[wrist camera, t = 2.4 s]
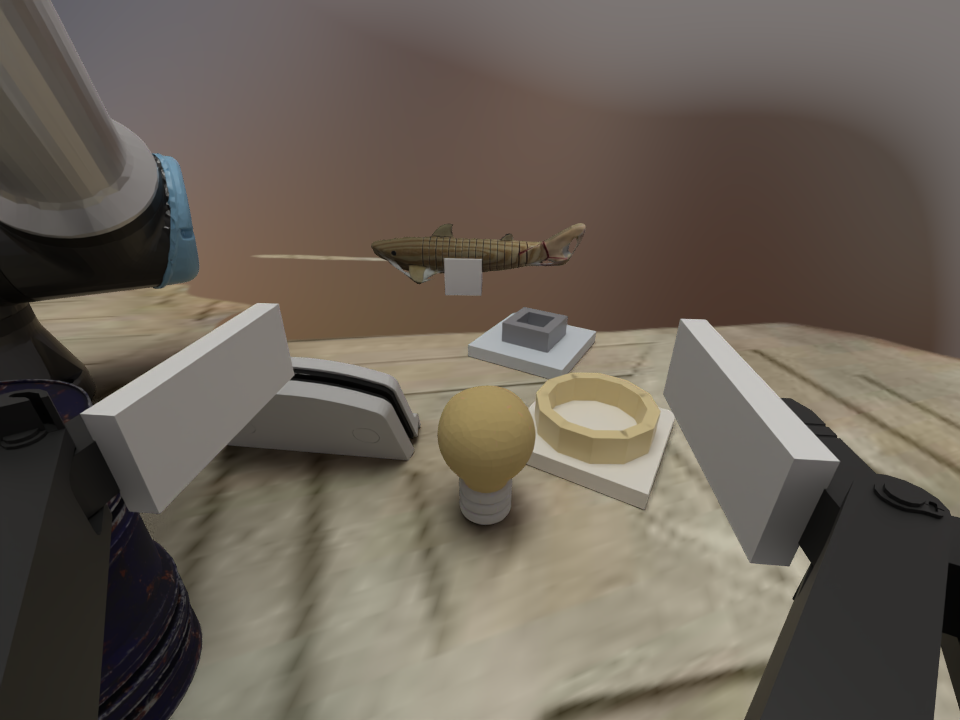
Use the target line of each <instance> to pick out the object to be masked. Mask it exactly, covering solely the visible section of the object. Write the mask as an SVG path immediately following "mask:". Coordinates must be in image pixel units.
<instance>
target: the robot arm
mask: <svg viewBox="0 0 960 720" xmlns="http://www.w3.org/2000/svg"><path fill="white" fill-rule="evenodd" d="M198 272H199V259H198V253H197V247H196V242H195V236H194V233H193V226H192V221H191V214H190V209H189V204H188V199H187V194H186V190H185V185H184V181H183V176H182V172H181V169H180V165H179V164H178V162H177V161H176V160H175V159H174V158H172V157H170V156H162V155H161V154H158V153H157V154H152V153H151V152H150V150H149V148H148V147H147V145H146V144H145V143H144V142H143V141H142V140H141V139H140V138H139V137H138V136H137V135H136V134H135V133H134V132H132V131H131V130H129V129H128V128H126V127H125V126H123V125H122V124H120V123H118V122H117V121H115V120H113V119H111V118H110V116H109V114H108V112H107V110H106V109H105V107H104V104H103V102H102V100H101V98H100V96H99V95H98V93H97V91H96V89H95V87H94V85H93V83H92V81H91V79H90V77H89V75H88V73H87V71H86V69H85V67H84V65H83V63H82V61H81V59H80V57H79V55H78V53H77V51H76V49H75V47H74V45H73V43H72V41H71V39H70V37H69V36H68V33H67V32H66V30H65V28H64V26H63V24H62V22H61V20H60V18H59V16H58V14H57V12H56V10H55V8H54V6H53V4H52V2H51V0H0V381H9V380H23V379H46V380H57V381H62V382H67V383H71V384H74V385H76V386H78V387H81V388H82V389H83V390H84V391H85V392H86V393H87V394H88V396H89V398H90V400H91V398H92V397H93V395H94V393H95V384H94V382H93V380H92V378H91V376H90V374H89V372H88V370H87V368H86V367H85V366H84V364H83V363H82V362H81V361H79V360H78V359H77V358H76V357H75V356H74V355H73V354H72V353H71V352H70V351H69V350H68V349H67V348H66V347H65V346H63V345H62V344H61V343H60V342H59V341H58V340H57V339H56V338H55V337H54V336H53V335H52V334H51V333H50V332H48V331H47V330H46V329H45V328H44V327H43V326H42V325H41V324H40V322H39V321H38V319H37V317H36V316H35V314H34V312H33V310H32V308H31V306H30V304H29V302H36V301H43V300H51V299H60V298H68V297H76V296H84V295H92V294H101V293H109V292H117V291H125V290H134V289H142V288H150V287H153V288H155V289H159V288H163V287H165V286H166V285H172V284H178V283H183V282H188V281H191V280H192V279H194V278H195V277H196V276H197V274H198ZM293 376H294V371H293V366H292V362H291V357H290V353H289V348H288V344H287V339H286V335H285V331H284V326H283V321H282V318H281V312H280V308H279V304H267V303H257V304H255V305H253V306H252V307H250V308H249V309H247V310H245V311H244V312H242V313H240V314H239V315H237V316H236V317H234V318H232V319H231V320H229V321H228V322H226V323H225V324H223V325H221V326H220V327H218V328H216V329H215V330H213V331H212V332H210V333H208V334H207V335H205V336H204V337H202V338H200V339H199V340H197V341H196V342H194V343H192V344H191V345H189V346H188V347H186V348H184V349H183V350H181V351H180V352H178V353H176V354H175V355H173V356H172V357H170V358H168V359H167V360H165V361H164V362H162V363H160V364H159V365H157V366H156V367H154V368H152V369H151V370H149V371H148V372H146V373H144V374H143V375H141V376H140V377H138V378H136V379H135V380H133V381H132V382H130V383H128V384H127V385H125V386H124V387H122V388H120V389H119V390H117V391H116V392H114V393H112V394H111V395H109V396H108V397H106V398H104V399H103V400H101V401H100V402H98V403H96V404H95V405H93V406H92V407H90V408H88V409H87V410H85V411H84V412H82V413H80V414H79V415H78V416H76V417H74V418H73V419H71V420H70V421H68V422H66V423H65V424H64V422H63V420H62V419H61V417H60V415H59V413H58V411H57V409H56V407H55V405H54V404H53V402H52V400H51V398H50V396H49V394H48V392H47V391H44V390H41V389H25V390H19V391H13V392H9V393H5V394H1V395H0V720H98V709H99V695H100V681H101V667H102V653H103V639H104V626H105V612H106V598H107V584H108V570H109V556H110V542H111V528H112V514H111V511H110V509H109V507H108V505H107V503H108V502H109V501H110V500H111V499H112V498H113V497H114V496H116V495H117V494H118V493H119V492H120V494H121V496H122V498H123V500H124V502H125V504H126V506H127V508H128V510H129V511H130V512H142V513H154V514H160V513H161V512H162V511H163V510H164V509H165V508H166V507H167V506H168V505H169V504H170V503H171V502H172V501H173V500H174V499H175V498H176V497H177V496H178V495H179V493H180V492H181V491H182V490H183V489H184V488H185V487H186V486H187V485H188V484H189V483H190V482H191V481H192V480H193V479H194V478H195V477H196V476H197V475H198V474H199V473H200V472H201V471H202V470H203V469H204V468H205V467H206V466H207V465H208V464H209V463H210V462H211V461H212V459H213V458H214V457H215V456H216V455H217V454H218V453H219V452H220V451H221V450H222V449H223V448H224V447H225V446H226V445H227V444H228V443H229V442H230V441H231V440H232V439H233V438H234V437H235V436H236V435H237V434H238V433H239V432H240V431H241V430H242V429H243V428H244V426H245V425H246V424H247V423H248V422H249V421H250V420H251V419H252V418H253V417H254V416H255V415H256V414H257V413H258V412H259V411H260V410H261V409H262V408H263V407H264V406H265V405H266V404H267V403H268V402H269V401H270V400H271V399H272V398H273V397H274V396H275V395H276V394H277V392H278V391H279V390H280V389H281V388H282V387H283V386H284V385H285V384H286V383H287V382H288V381H289V380H290V379H291V378H292V377H293ZM663 395H664V397H665V399H666V401H667V402H668V404H669V406H670V408H671V410H672V412H673V414H674V416H675V418H676V420H677V422H678V424H679V426H680V428H681V430H682V432H683V434H684V436H685V437H686V439H687V441H688V443H689V445H690V447H691V449H692V451H693V453H694V455H695V457H696V459H697V461H698V463H699V465H700V467H701V469H702V471H703V472H704V474H705V476H706V478H707V480H708V482H709V484H710V486H711V488H712V490H713V492H714V494H715V496H716V498H717V500H718V502H719V504H720V506H721V507H722V509H723V511H724V513H725V515H726V517H727V519H728V521H729V523H730V525H731V527H732V529H733V531H734V533H735V535H736V537H737V539H738V541H739V542H740V544H741V546H742V548H743V550H744V552H745V554H746V556H747V558H748V560H749V562H750V563H755V564H767V565H779V566H790V564H791V562H792V560H793V558H794V555H795V553H796V551H797V549H798V547H799V545H800V547H801V548H802V550H803V551H804V553H805V554H806V556H807V557H808V559H809V560H810V562H811V564H810V566H809V568H808V570H807V571H806V573H805V575H804V577H803V579H802V581H801V583H800V585H799V587H798V589H797V591H796V593H795V595H794V597H793V598H792V599H793V600H794V602H793V604H792V607H791V609H790V611H789V614H788V616H787V619H786V621H785V623H784V626H783V628H782V631H781V633H780V635H779V638H778V640H777V642H776V645H775V647H774V650H773V652H772V654H771V657H770V659H769V662H768V664H767V666H766V669H765V671H764V674H763V676H762V678H761V681H760V683H759V686H758V688H757V690H756V693H755V695H754V697H753V700H752V702H751V705H750V707H749V709H748V712H747V714H746V717H745V719H744V720H934V710H935V699H936V689H937V678H938V668H939V657H940V647H941V648H942V651H943V655H944V658H945V661H946V665H947V668H948V672H949V675H950V678H951V682H952V685H953V689H954V692H955V696H956V699H957V702H958V706H959V709H960V518H958V517H954V516H951V514H950V511H949V510H948V509H947V508H946V507H945V506H944V505H943V503H942V502H941V501H940V500H939V499H937V498H936V497H934V496H933V495H931V494H930V493H928V492H927V491H925V490H924V489H922V488H920V487H918V486H916V485H913V484H911V483H909V482H907V481H905V480H901V479H898V478H895V477H892V476H888V475H883V474H876V473H875V472H874V471H873V470H872V469H871V468H870V467H869V466H868V465H867V464H866V463H865V462H864V461H863V460H862V459H861V458H859V457H858V456H857V455H856V454H855V453H854V452H853V451H852V450H851V449H850V448H849V447H848V446H847V445H846V444H845V443H844V442H843V441H842V440H841V439H840V438H837V435H836V434H835V433H834V432H833V431H832V430H831V429H830V428H829V427H826V426H825V425H826V424H825V423H824V422H823V421H822V420H821V419H820V418H819V417H818V416H817V415H816V414H815V413H814V412H813V411H811V410H810V409H808V408H806V407H805V406H803V405H801V404H800V403H798V402H796V401H794V400H793V399H790V398H780V397H779V396H778V395H777V394H776V393H775V392H774V391H773V390H772V389H771V388H770V387H769V386H768V385H767V384H766V383H765V382H764V381H763V380H762V378H761V377H760V376H759V375H758V374H757V373H756V372H755V371H754V370H753V369H752V368H751V367H750V366H749V365H748V364H747V363H746V362H745V361H744V359H743V358H742V357H741V356H740V355H739V354H738V353H737V352H736V351H735V350H734V349H733V348H732V347H731V346H730V345H729V344H728V343H727V342H726V340H725V339H724V338H723V337H722V336H721V335H720V334H719V333H718V332H717V331H716V330H715V329H714V328H713V327H712V326H711V325H710V324H709V323H708V322H707V320H697V319H680V323H679V327H678V332H677V336H676V340H675V345H674V349H673V354H672V358H671V362H670V367H669V371H668V376H667V380H666V384H665V389H664V393H663Z"/></svg>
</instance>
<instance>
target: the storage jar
mask: <svg viewBox="0 0 960 720" xmlns="http://www.w3.org/2000/svg"><path fill="white" fill-rule="evenodd" d="M25 389H41V390H44V391H47V392H48V394H49V396H50V398H51V400H52V402H53V404H54V405H55V407H56V409H57V411H58V413H59V415H60V417H61V419H62V420H63V422H64V424H65V423H66V422H68V421H70V420H71V419H73V418H74V417H76V416H78V415H79V414H80V413H82V412H84V411H85V410H87V409H88V408H90V407H92V406H93V404H92V402H91V400H90V398H89V396H88V394H87V393H86V392H85V391H84V390H83V389H82V388H81V387H78V386H76V385H74V384H71V383H67V382H62V381H57V380H46V379H23V380H9V381H0V395H1V394H5V393H9V392H13V391H19V390H25ZM107 505H108V507H109V509H110V511H111V514H112V528H111V542H110V556H109V570H108V584H107V598H106V612H105V626H104V639H103V653H102V667H101V681H100V695H99V709H98V720H168V719H169V718H170V717H171V715H172V714H173V712H174V711H175V709H176V708H177V706H178V705H179V703H180V702H181V700H182V698H183V697H184V695H185V693H186V691H187V689H188V687H189V685H190V683H191V681H192V679H193V677H194V674H195V672H196V669H197V666H198V663H199V659H200V654H201V649H202V632H201V627H200V623H199V621H198V619H197V617H196V615H195V613H194V611H193V609H192V608H191V605H190V602H189V596H188V592H187V590H186V588H185V586H184V584H183V582H182V579H181V577H180V575H179V573H178V571H177V566H176V564H175V562H174V560H173V558H172V557H171V556H170V555H169V554H168V553H167V552H166V550H165V549H164V548H163V547H162V546H161V545H160V544H159V543H157V542H155V541H154V540H152V538H151V536H150V534H149V532H148V530H147V528H146V526H145V524H144V522H143V520H142V518H141V516H140V512H130V511H129V510H128V508H127V506H126V504H125V502H124V500H123V498H122V496H121V494H120V492H119V493H118V494H117V495H116V496H114V497H113V498H112V499H111V500H110V501H109V502H108V503H107Z"/></svg>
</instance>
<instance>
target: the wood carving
mask: <svg viewBox="0 0 960 720" xmlns="http://www.w3.org/2000/svg"><path fill="white" fill-rule="evenodd" d="M452 226H453V225H452V224H444V225H442V226H440V227H439V228H438V229H437V230H436V231H435V232H434V233H433V235H432V236H431V237H424V238H421V237H417V238H416V237H404V238H394V239H391V240H380V241H375V242H373V243H372V245H371V247H372V249H373V251H374V253H375V254H376V255H377V256H379V257H380V258H382V259H385V260H387V261H389V262H390V264H392V265H393V266H394V267H396V268H397V269H398V270H400V271H401V272H403V273H404V274H405V275H407V276H408V277H409V278H410V279H412V280H413V281H414V282H416V283H417V284H421V283H423V282H426V281H428V280H427V278H428V277H431V276H432V275H434V274H437V273H445V295H481V293H482V272H488V271H499V270H507V269H512V268H519V267H524V266H559V265H564V264H566V263H567V262H568V261H569V259H570V257H571V256H572V254H573V253H574V251H575V250H576V248H577V247H578V245H579V244H580V241H581V240H582V238H583V235H584V233H585V229H586V226H585V225H584V224H581V223H579V224H576V225H573V226H571V227H569V228H567V229H565V230H563V231H561V232H560V233H558V234H556V235H554V236H553V237H551V238H549V239H547V240H545V241H541V242H524V241H514V240H513V236H512V234H506V235H505V236H504V237H503V238H502V239H501V240H491V239H475V238H474V239H463V238H459V239H455V238H454V237H453V235H452ZM574 238H577V245H576V247H575V249H574V251H573V253H572V254H571V253H570V252H569V251H568V249H569V245H570V243H571V241H572V240H573V239H574ZM542 261H552V262H554V263H548V264H541V263H542ZM402 269H403V270H408V271H409V273H407V272H404V271H403V270H402ZM425 279H426V280H425ZM429 280H430V279H429Z"/></svg>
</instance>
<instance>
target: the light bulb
mask: <svg viewBox="0 0 960 720" xmlns="http://www.w3.org/2000/svg"><path fill="white" fill-rule="evenodd" d="M535 438H536V431H535V426H534V421H533V418H532V416H531V413H530V411H529V409H528V408H527V407H526V405H525V404H524V403H523V401H522V400H521V399H520V398H519V397H518V396H517V395H515V394H514V393H513V392H511V391H509V390H507V389H505V388H501V387H497V386H478V387H473V388H469V389H466V390H463V391H462V392H460V393H458V394H456V395H455V396H454V397H452V398H451V399H450V401H449V402H448V403H447V405H446V406H445V408H444V410H443V412H442V415H441V418H440V421H439V425H438V443H439V448H440V451H441V454H442V456H443V458H444V460H445V462H446V463H447V465H448V466H449V467H450V469H451V470H452V471H453V472H454V473H456V474H457V475H458V476H459V487H460V488H459V496H460V499H459V503H460V509H461V511H462V513H463V515H464V516H465V517H466V518H467V519H469V520H470V521H472V522H474V523H477V524H482V525H489V524H494V523H498V522H500V521H501V520H503V519H504V518H505V517H506V516H507V515H508V513H509V511H510V508H511V497H512V478H513V477H514V476H516V475H517V474H518V473H519V472H520V471H521V470H522V469H523V468H524V466H525V465H526V464H527V462H528V461H529V459H530V457H531V455H532V452H533V450H534V445H535Z"/></svg>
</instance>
